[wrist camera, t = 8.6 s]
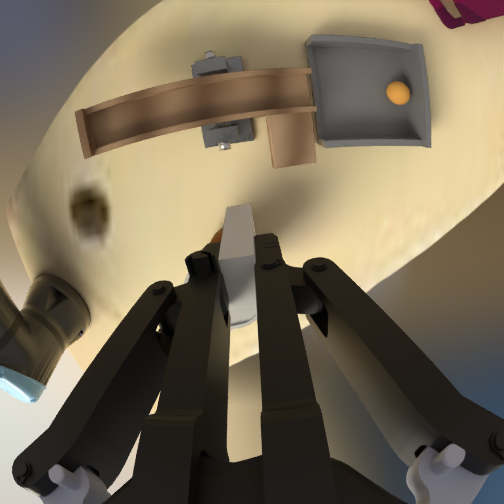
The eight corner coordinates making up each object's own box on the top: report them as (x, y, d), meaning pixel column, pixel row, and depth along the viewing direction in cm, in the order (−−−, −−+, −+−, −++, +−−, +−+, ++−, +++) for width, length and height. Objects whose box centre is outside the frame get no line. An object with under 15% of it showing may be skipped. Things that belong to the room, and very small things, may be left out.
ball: (414, 106, 27) (392, 104, 30) (412, 82, 26) (390, 82, 28) (406, 105, 26) (383, 103, 28) (404, 80, 24) (381, 79, 26)
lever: (108, 205, 28) (100, 215, 25) (85, 112, 23) (74, 111, 20) (312, 160, 31) (326, 165, 28) (302, 70, 26) (315, 66, 23)
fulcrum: (206, 147, 33) (195, 155, 27) (192, 66, 28) (178, 57, 22) (253, 139, 32) (253, 146, 27) (240, 57, 27) (238, 45, 21)
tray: (318, 143, 33) (328, 148, 28) (304, 42, 26) (313, 32, 22) (411, 141, 32) (431, 147, 27) (403, 49, 25) (422, 44, 21)
